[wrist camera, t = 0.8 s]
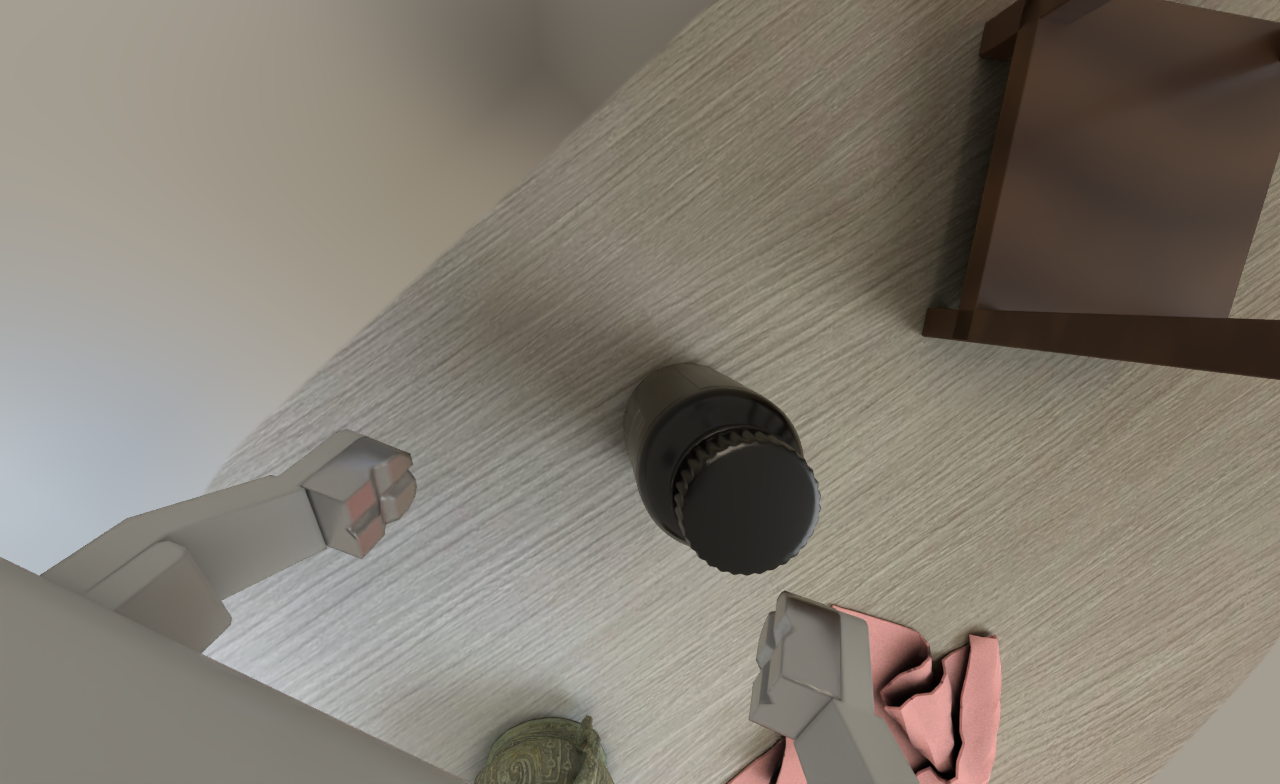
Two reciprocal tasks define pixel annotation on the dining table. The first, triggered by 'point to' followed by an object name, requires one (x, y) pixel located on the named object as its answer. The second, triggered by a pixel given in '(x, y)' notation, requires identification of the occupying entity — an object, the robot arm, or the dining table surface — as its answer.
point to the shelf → (1124, 185)
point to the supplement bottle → (720, 469)
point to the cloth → (919, 709)
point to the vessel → (547, 755)
